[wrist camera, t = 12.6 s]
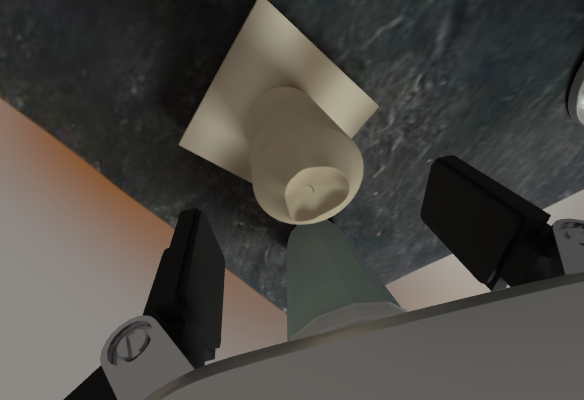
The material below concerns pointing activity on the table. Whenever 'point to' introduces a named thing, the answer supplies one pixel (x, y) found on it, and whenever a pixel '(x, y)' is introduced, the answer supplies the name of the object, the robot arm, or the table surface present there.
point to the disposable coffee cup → (330, 283)
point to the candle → (300, 158)
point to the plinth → (268, 88)
